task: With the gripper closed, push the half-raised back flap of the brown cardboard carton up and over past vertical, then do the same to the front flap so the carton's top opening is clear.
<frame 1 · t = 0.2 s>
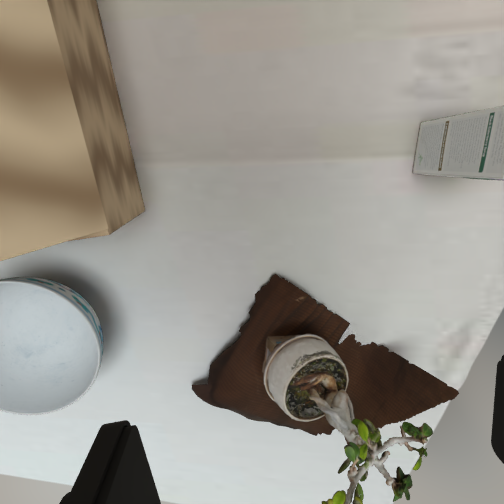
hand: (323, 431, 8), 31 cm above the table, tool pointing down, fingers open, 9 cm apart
potted plant: (296, 361, 45), on the table
carton: (29, 107, 34), on the table
syrup box: (437, 148, 38), on the table
chinaware: (59, 315, 40), on the table
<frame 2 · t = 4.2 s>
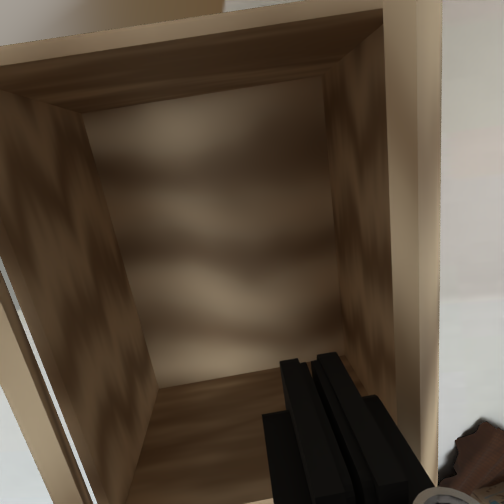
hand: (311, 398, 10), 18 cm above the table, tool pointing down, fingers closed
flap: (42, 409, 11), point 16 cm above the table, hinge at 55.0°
carton: (230, 248, 27), on the table
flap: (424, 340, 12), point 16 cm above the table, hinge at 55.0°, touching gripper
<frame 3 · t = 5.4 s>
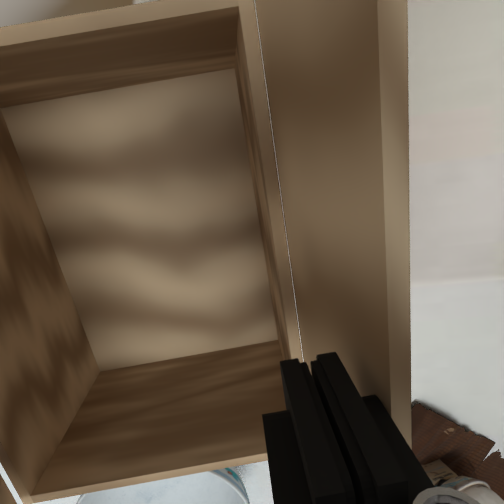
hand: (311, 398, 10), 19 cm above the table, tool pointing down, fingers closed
potted plant: (429, 481, 40), on the table
carton: (159, 237, 28), on the table
chinaware: (177, 448, 35), on the table
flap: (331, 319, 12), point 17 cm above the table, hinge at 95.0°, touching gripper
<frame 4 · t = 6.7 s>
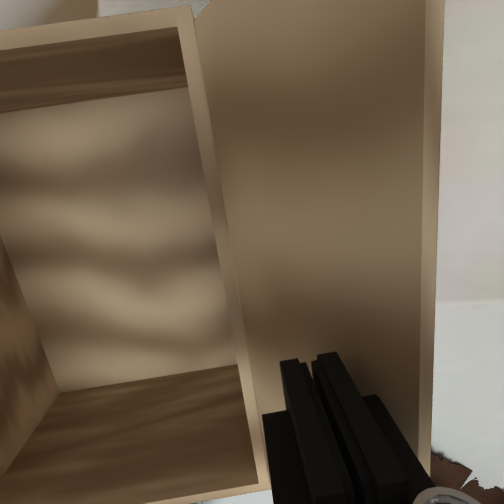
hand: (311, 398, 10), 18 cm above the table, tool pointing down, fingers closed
carton: (124, 255, 27), on the table
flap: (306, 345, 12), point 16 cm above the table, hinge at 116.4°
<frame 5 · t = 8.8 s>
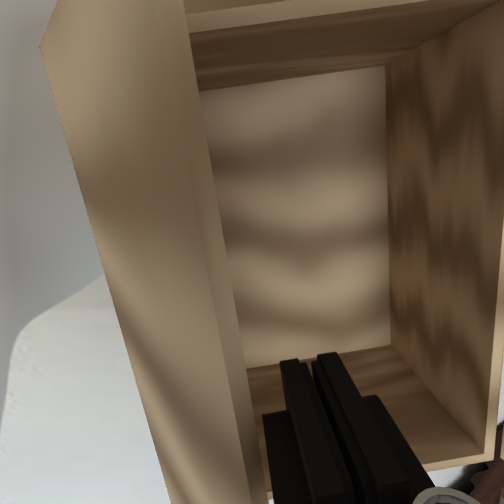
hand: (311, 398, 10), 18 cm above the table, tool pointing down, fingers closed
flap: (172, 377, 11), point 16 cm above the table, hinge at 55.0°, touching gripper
carton: (284, 236, 27), on the table
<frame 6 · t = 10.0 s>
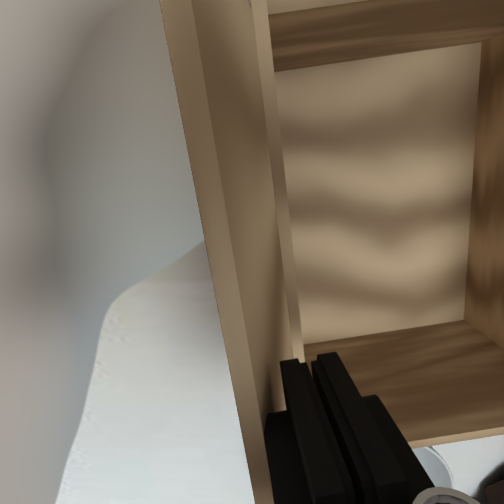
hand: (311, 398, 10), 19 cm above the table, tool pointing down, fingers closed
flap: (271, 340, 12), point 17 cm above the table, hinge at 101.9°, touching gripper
carton: (368, 212, 28), on the table
chinaware: (337, 430, 35), on the table
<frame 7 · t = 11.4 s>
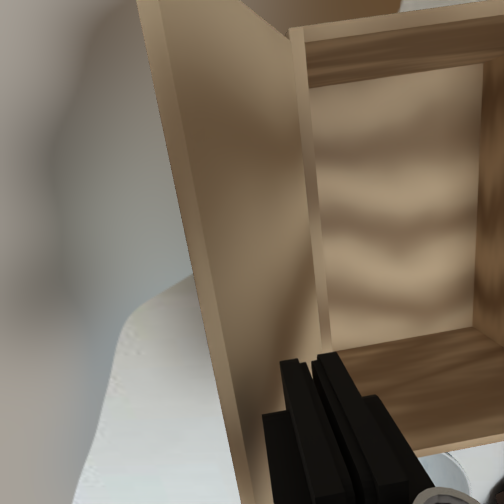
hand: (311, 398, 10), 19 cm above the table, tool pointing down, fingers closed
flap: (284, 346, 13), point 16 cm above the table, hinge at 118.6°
carton: (379, 223, 29), on the table
chinaware: (350, 439, 35), on the table
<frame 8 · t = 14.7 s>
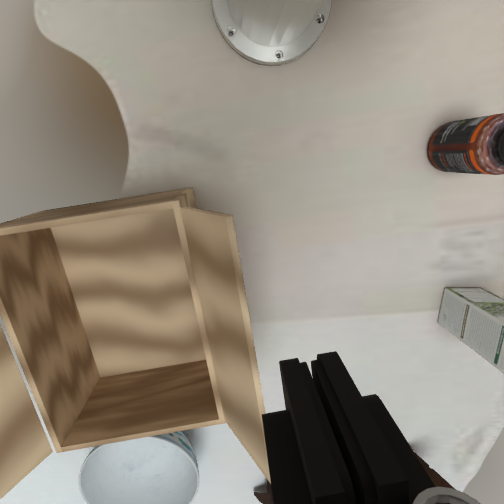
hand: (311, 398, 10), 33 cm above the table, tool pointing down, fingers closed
potted plant: (335, 462, 54), on the table
carton: (142, 290, 43), on the table
syrup box: (458, 304, 48), on the table
supplement bottle: (448, 147, 41), on the table
chinaware: (152, 433, 50), on the table
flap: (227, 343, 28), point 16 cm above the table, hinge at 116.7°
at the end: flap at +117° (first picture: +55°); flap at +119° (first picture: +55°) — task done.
